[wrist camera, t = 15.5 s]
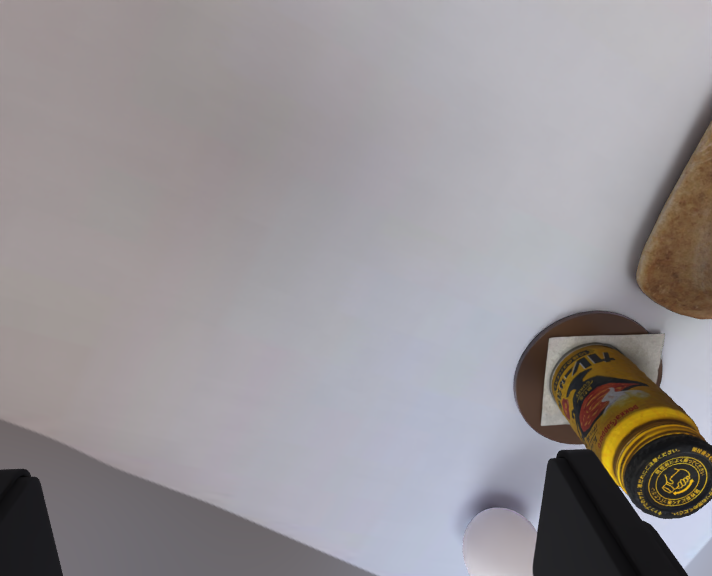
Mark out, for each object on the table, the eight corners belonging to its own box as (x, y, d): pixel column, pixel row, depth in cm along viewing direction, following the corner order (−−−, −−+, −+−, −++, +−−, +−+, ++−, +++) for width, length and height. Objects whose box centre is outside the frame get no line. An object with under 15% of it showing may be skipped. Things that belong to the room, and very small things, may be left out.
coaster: (521, 311, 42) (524, 313, 41) (672, 310, 42) (676, 313, 42) (506, 441, 45) (508, 445, 45) (644, 440, 46) (647, 444, 45)
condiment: (548, 336, 42) (627, 432, 31) (664, 332, 42) (785, 426, 31) (539, 424, 44) (610, 542, 33) (649, 419, 45) (756, 535, 33)
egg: (489, 476, 46) (518, 549, 39) (543, 513, 48) (580, 590, 41) (439, 525, 48) (458, 604, 41) (492, 559, 49) (519, 641, 42)
